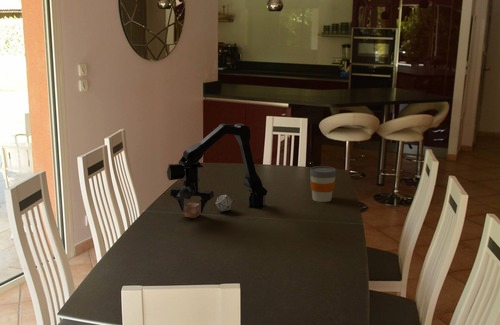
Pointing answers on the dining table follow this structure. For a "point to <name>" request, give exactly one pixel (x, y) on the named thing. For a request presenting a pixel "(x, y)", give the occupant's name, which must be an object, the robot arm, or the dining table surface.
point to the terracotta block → (192, 210)
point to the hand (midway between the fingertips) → (192, 212)
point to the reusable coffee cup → (322, 183)
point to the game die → (223, 203)
